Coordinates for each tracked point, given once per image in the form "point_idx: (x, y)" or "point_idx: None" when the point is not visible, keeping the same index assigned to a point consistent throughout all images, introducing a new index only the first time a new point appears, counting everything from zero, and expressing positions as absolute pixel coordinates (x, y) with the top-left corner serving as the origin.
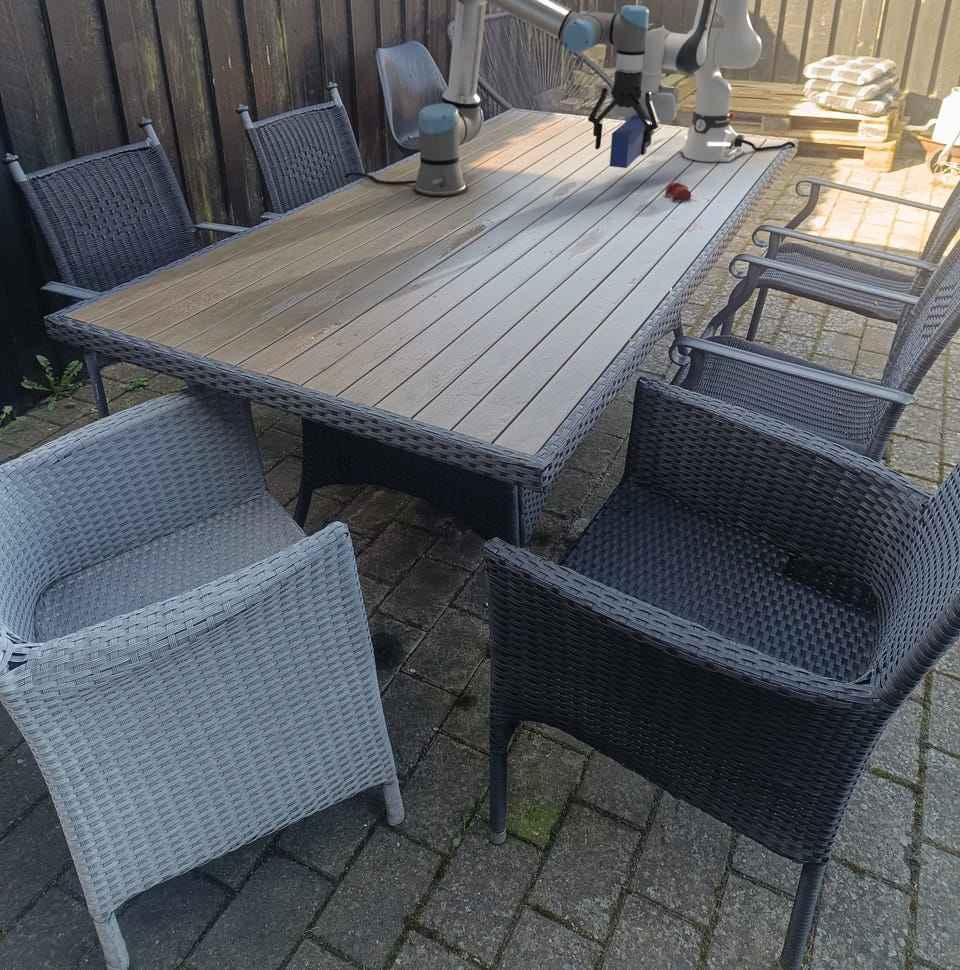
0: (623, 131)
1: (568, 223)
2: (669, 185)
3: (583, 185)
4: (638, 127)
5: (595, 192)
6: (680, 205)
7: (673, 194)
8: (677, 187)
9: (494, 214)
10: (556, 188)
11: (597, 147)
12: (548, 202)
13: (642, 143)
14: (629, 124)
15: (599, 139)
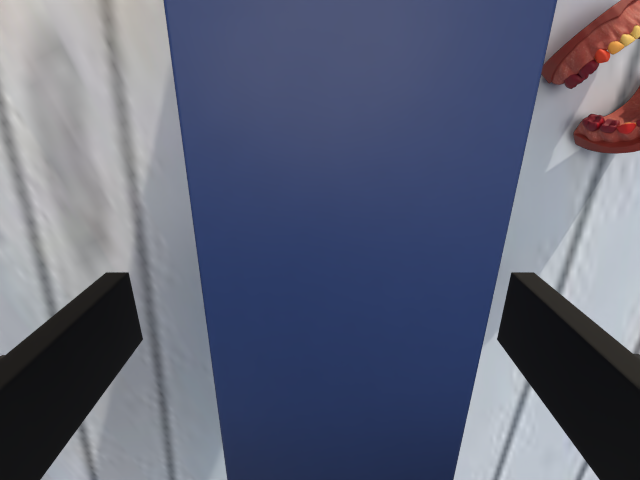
0: (339, 460)
1: None
2: (582, 44)
3: (111, 58)
4: (523, 119)
5: None
6: (604, 185)
7: (591, 136)
8: (633, 127)
9: None
10: (33, 162)
11: (133, 347)
12: None
13: (548, 405)
14: (309, 2)
15: (97, 365)
